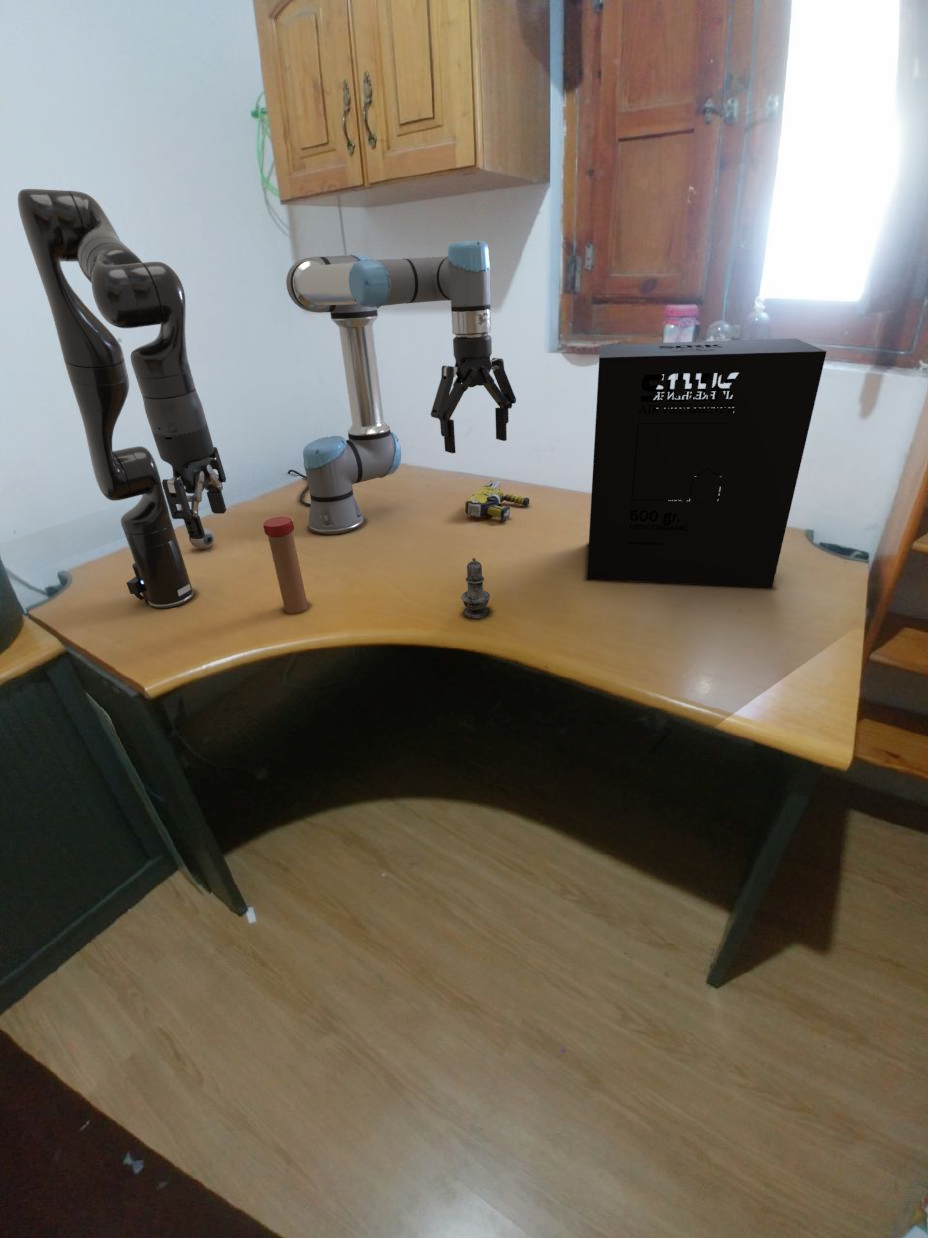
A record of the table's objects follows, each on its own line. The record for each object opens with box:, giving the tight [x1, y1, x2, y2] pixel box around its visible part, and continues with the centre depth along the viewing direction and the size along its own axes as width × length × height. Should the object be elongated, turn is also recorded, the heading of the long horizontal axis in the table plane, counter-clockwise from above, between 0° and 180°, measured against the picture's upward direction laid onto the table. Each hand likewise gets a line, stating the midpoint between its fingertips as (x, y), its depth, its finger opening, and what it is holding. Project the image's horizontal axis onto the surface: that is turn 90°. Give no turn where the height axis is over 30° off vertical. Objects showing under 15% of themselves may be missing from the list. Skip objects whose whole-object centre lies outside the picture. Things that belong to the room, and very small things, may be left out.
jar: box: [267, 531, 309, 615], centre depth 123 cm, size 5×5×19 cm
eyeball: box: [188, 525, 215, 550], centre depth 158 cm, size 6×6×6 cm
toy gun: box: [464, 480, 531, 522], centre depth 174 cm, size 5×24×15 cm
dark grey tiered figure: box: [460, 557, 491, 619], centre depth 119 cm, size 6×6×12 cm
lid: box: [262, 516, 295, 537], centre depth 119 cm, size 6×6×2 cm
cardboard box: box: [586, 338, 828, 589], centre depth 126 cm, size 38×20×45 cm, turn 78°
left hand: (209, 524), depth 96 cm, fingers open, 8 cm apart
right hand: (476, 445), depth 127 cm, fingers open, 13 cm apart
